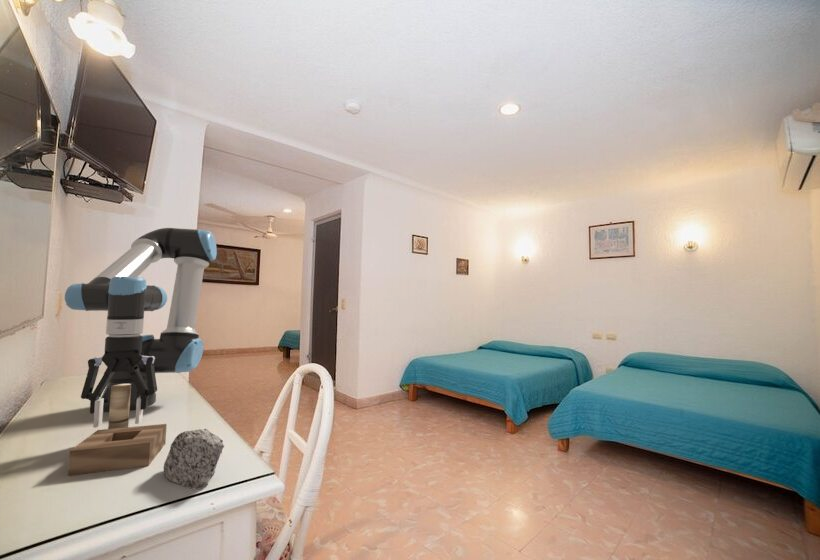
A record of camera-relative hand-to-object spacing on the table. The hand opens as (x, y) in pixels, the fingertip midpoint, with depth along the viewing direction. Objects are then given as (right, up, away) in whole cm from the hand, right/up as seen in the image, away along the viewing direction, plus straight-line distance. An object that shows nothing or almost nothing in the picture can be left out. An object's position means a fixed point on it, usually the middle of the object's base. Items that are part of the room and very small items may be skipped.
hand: (118, 423), depth 89 cm
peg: (0, -4, 0) cm, 4 cm away
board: (+9, -4, -10) cm, 14 cm away
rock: (+30, -4, -17) cm, 34 cm away
